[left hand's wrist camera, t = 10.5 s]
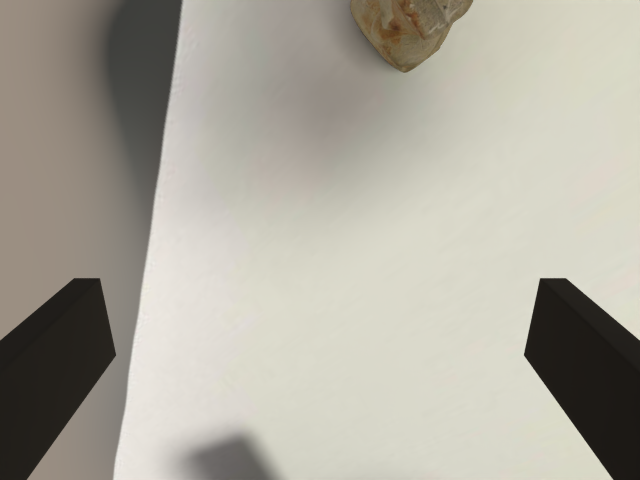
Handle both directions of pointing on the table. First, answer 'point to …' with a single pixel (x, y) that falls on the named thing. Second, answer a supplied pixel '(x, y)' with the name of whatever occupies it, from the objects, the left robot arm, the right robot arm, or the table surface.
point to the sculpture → (407, 27)
